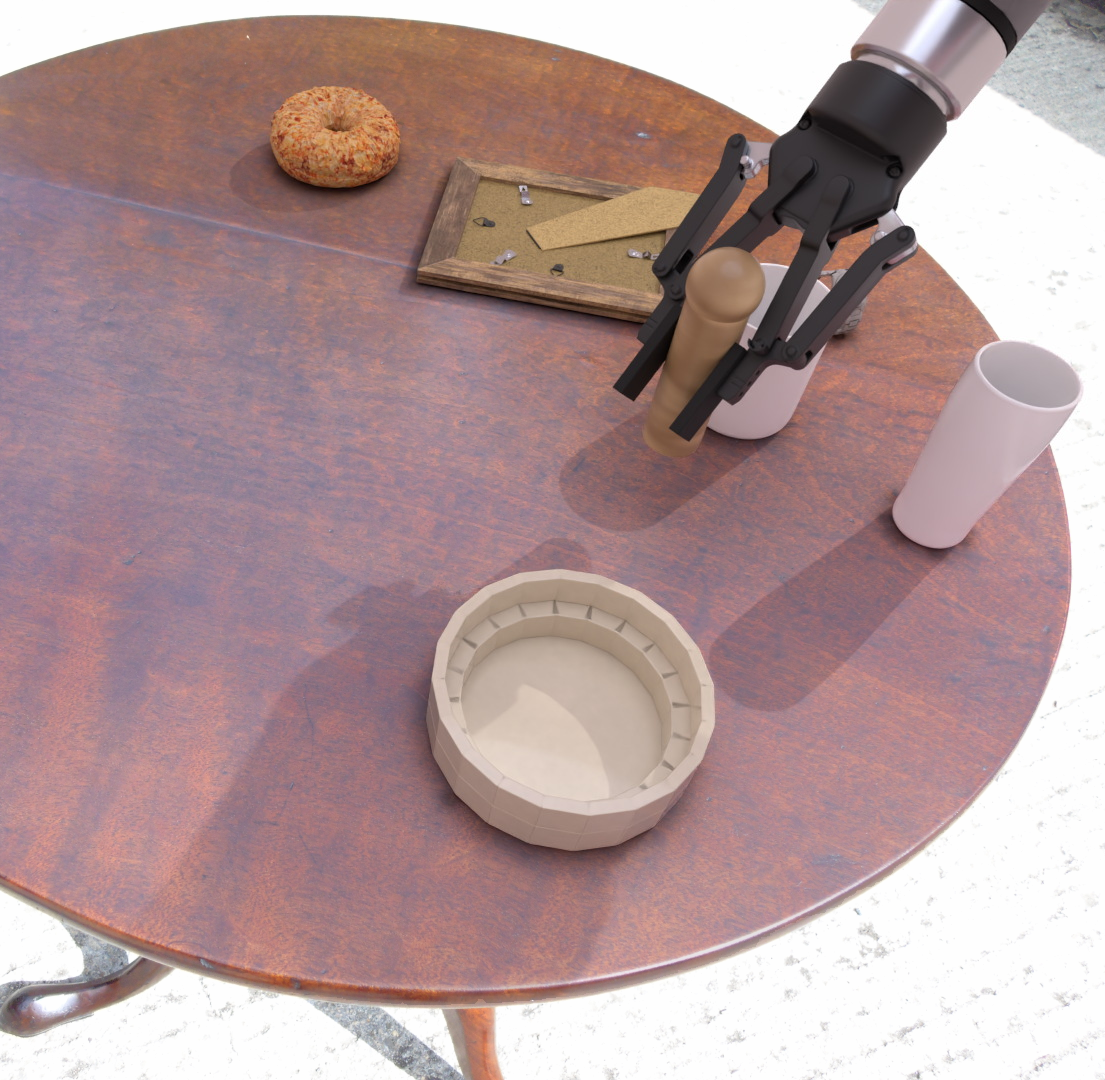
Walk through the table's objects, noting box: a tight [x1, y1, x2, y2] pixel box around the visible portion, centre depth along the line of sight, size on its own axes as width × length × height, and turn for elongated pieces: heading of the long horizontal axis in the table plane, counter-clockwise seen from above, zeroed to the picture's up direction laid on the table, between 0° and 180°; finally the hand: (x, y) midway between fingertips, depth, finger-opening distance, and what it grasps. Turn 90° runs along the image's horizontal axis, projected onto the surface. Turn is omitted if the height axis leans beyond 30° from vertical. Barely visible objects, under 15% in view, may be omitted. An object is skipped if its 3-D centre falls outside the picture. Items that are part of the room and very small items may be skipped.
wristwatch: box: [818, 268, 869, 336], centre depth 92 cm, size 4×6×5 cm, turn 22°
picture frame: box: [416, 155, 701, 324], centre depth 98 cm, size 19×2×24 cm
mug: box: [707, 262, 831, 440], centre depth 82 cm, size 9×12×11 cm
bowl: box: [425, 568, 716, 852], centre depth 65 cm, size 17×17×6 cm
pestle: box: [641, 247, 766, 459], centre depth 68 cm, size 5×5×15 cm
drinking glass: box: [891, 339, 1084, 549], centre depth 73 cm, size 7×7×15 cm
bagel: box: [269, 85, 402, 189], centre depth 104 cm, size 13×14×5 cm
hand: (651, 414), depth 69 cm, fingers closed on pestle, 4 cm apart
